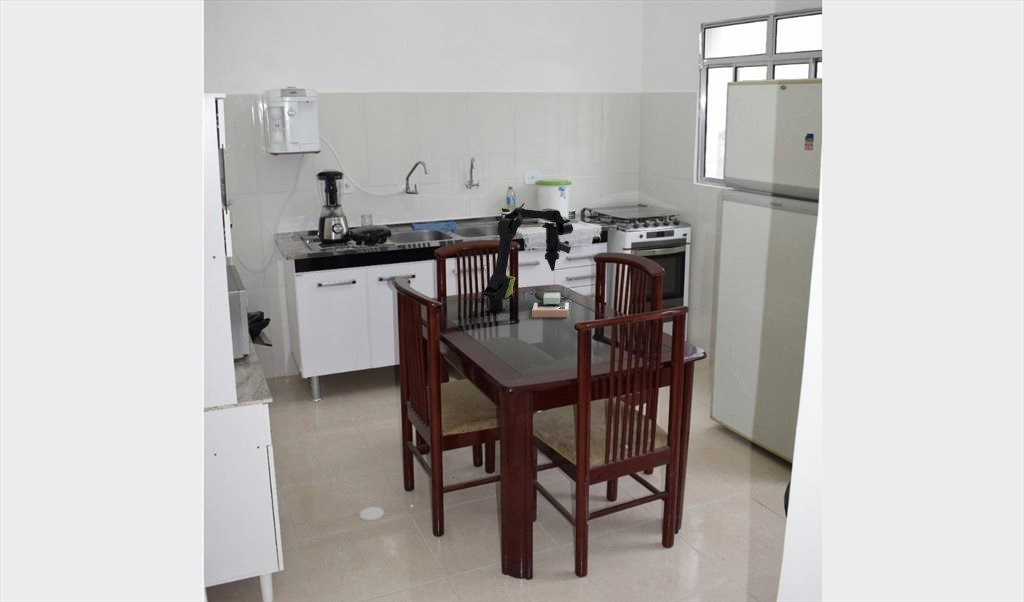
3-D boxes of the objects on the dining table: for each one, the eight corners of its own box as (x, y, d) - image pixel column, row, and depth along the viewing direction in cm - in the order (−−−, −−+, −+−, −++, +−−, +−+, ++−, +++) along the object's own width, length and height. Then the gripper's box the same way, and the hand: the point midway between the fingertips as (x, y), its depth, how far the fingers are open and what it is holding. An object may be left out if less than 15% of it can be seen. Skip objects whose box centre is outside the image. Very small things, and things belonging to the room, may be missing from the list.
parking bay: (534, 307, 343) (534, 300, 342) (568, 307, 341) (568, 300, 341) (532, 317, 328) (531, 310, 327) (568, 317, 327) (567, 310, 326)
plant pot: (515, 299, 357) (515, 280, 354) (494, 299, 357) (494, 281, 355) (515, 293, 366) (515, 275, 363) (495, 294, 366) (494, 276, 364)
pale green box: (544, 300, 353) (544, 289, 352) (560, 300, 352) (560, 289, 351) (543, 306, 343) (543, 295, 342) (559, 306, 343) (559, 295, 341)
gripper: (570, 240, 342) (570, 275, 347) (570, 232, 360) (571, 266, 365) (544, 241, 343) (545, 275, 348) (546, 233, 361) (547, 266, 366)
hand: (552, 270), depth 356 cm, fingers closed
